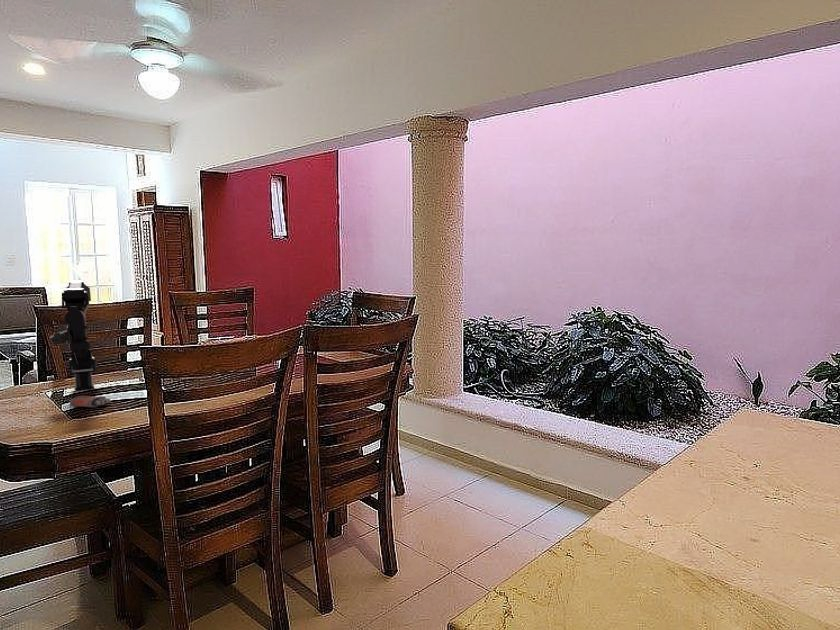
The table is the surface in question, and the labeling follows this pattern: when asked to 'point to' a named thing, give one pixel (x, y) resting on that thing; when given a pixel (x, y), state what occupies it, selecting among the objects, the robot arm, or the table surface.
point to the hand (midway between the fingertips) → (79, 365)
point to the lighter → (88, 401)
